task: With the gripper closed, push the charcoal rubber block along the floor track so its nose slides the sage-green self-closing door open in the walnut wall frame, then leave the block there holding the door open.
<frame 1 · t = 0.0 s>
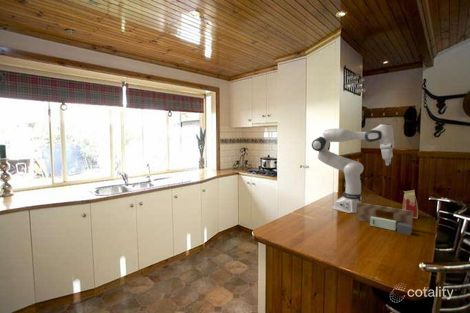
hand: (388, 164, 173), 39 cm above the counter, tool pointing down, fingers open, 8 cm apart
milk carton: (408, 216, 177), on the counter
sliding door: (382, 223, 155), point 3 cm above the counter, slide at 0.0 cm
wall frame: (382, 224, 160), on the counter
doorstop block: (404, 232, 148), on the counter
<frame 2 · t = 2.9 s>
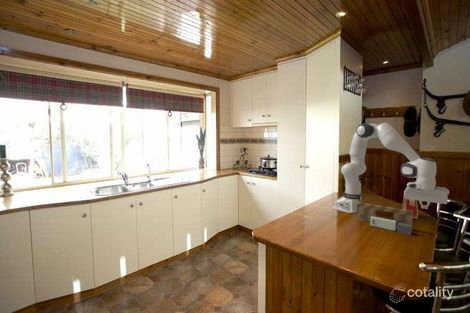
hand: (424, 208, 140), 17 cm above the counter, tool pointing down, fingers closed
nothing on the counter moved.
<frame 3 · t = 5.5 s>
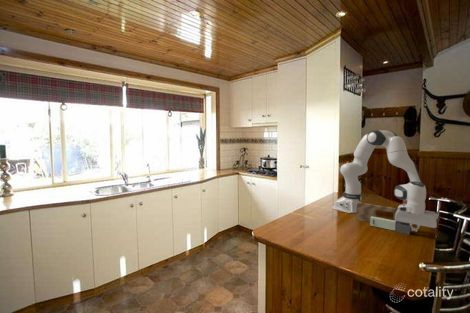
hand: (414, 231, 144), 2 cm above the counter, tool pointing down, fingers closed
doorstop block: (402, 231, 148), on the counter, touching gripper
everything else where it was.
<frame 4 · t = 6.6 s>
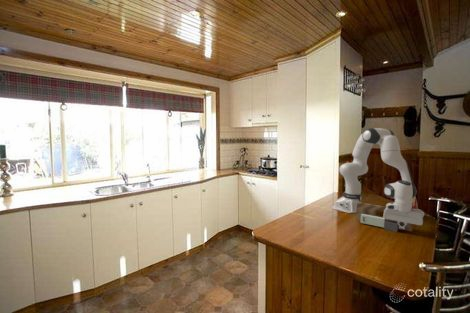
hand: (401, 228, 148), 2 cm above the counter, tool pointing down, fingers closed
sliding door: (372, 220, 158), point 4 cm above the counter, slide at 5.9 cm
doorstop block: (390, 229, 152), on the counter, touching gripper
everything else where it was.
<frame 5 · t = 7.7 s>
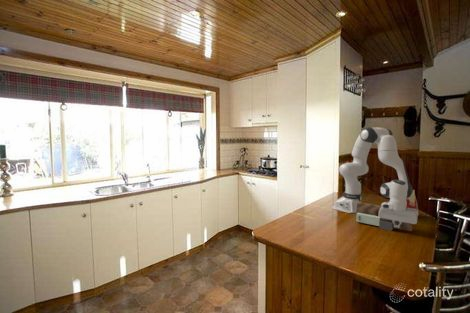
hand: (396, 227, 150), 2 cm above the counter, tool pointing down, fingers closed
sliding door: (368, 219, 160), point 4 cm above the counter, slide at 8.6 cm, touching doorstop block
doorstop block: (386, 228, 154), on the counter, touching gripper, sliding door
everything else where it was.
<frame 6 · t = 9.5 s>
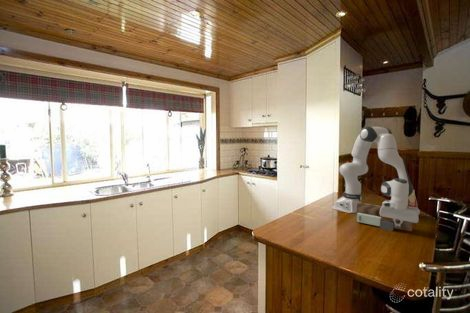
hand: (397, 226, 149), 3 cm above the counter, tool pointing down, fingers closed
sliding door: (368, 219, 160), point 4 cm above the counter, slide at 8.3 cm
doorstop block: (386, 228, 154), on the counter
everything else where it was.
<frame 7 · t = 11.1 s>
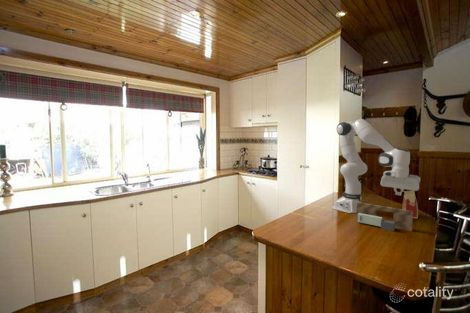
hand: (398, 195, 151), 22 cm above the counter, tool pointing down, fingers closed
sliding door: (369, 219, 159), point 4 cm above the counter, slide at 7.7 cm, touching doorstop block
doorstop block: (387, 229, 153), on the counter, touching sliding door
everything else where it was.
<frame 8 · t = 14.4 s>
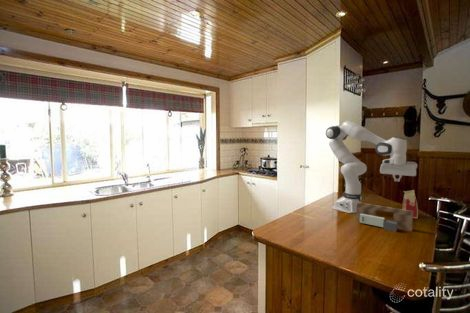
hand: (397, 181, 160), 29 cm above the counter, tool pointing down, fingers closed
sliding door: (371, 220, 159), point 4 cm above the counter, slide at 6.4 cm, touching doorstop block
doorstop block: (390, 229, 152), on the counter, touching sliding door
everything else where it was.
at the end: sliding door slide at 6.4 cm; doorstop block inside the target area (1.2 cm from its centre), on the counter; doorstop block tilted 0° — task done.
